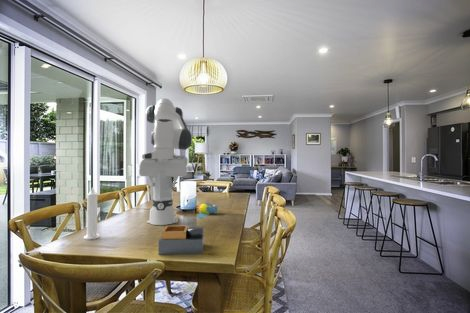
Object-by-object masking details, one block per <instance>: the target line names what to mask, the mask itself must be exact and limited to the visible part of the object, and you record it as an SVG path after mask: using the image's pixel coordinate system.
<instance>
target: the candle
mask: <svg viewBox="0 0 470 313" xmlns="http://www.w3.org/2000/svg"><path fill="white" fill-rule="evenodd" d="M86 195H87V196H86V235H84V236H83V240H85V241H86V240H95V239H99V238H100V236H101V235H100V234H99V233H98V192H96V191H95V189H94V187H91V190H90V191H89V193H87V194H86Z"/></svg>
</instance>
